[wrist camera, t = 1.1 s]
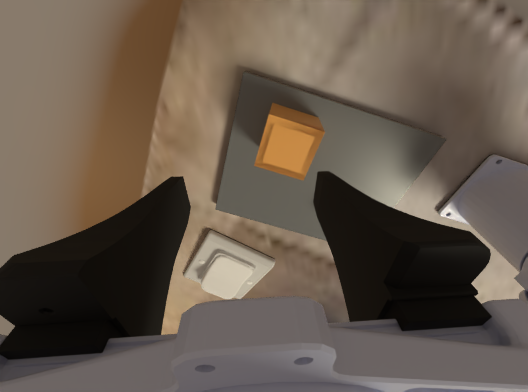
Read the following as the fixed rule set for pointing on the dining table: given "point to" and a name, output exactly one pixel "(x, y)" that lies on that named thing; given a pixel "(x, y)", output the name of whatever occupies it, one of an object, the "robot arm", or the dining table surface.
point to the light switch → (227, 266)
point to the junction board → (317, 157)
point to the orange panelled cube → (289, 142)
